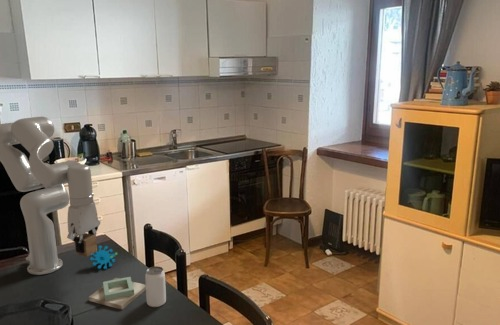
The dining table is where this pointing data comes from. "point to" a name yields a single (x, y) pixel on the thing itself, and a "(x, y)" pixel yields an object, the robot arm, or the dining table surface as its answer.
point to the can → (155, 286)
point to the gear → (103, 257)
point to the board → (118, 302)
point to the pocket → (118, 293)
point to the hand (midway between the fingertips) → (86, 248)
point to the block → (88, 244)
